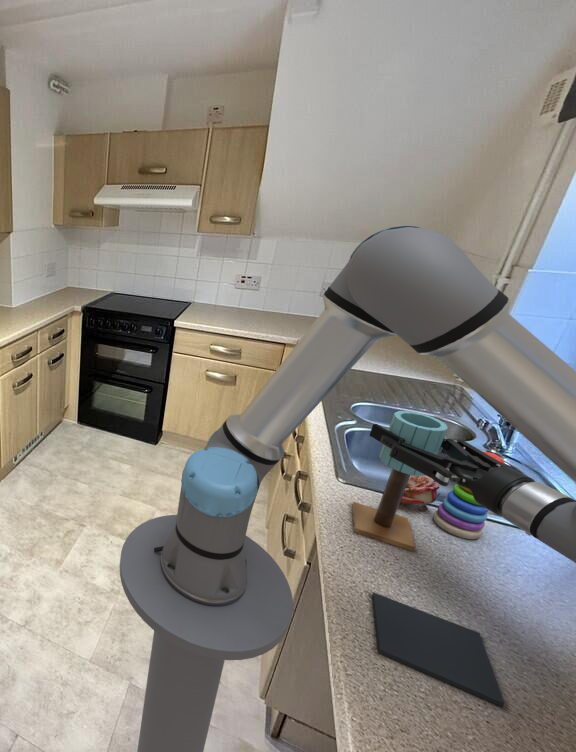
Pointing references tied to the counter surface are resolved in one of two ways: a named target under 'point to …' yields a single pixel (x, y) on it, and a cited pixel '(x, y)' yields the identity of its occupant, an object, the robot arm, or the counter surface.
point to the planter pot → (414, 437)
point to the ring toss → (386, 515)
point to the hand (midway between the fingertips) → (391, 428)
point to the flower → (420, 491)
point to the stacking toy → (462, 512)
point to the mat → (435, 647)
